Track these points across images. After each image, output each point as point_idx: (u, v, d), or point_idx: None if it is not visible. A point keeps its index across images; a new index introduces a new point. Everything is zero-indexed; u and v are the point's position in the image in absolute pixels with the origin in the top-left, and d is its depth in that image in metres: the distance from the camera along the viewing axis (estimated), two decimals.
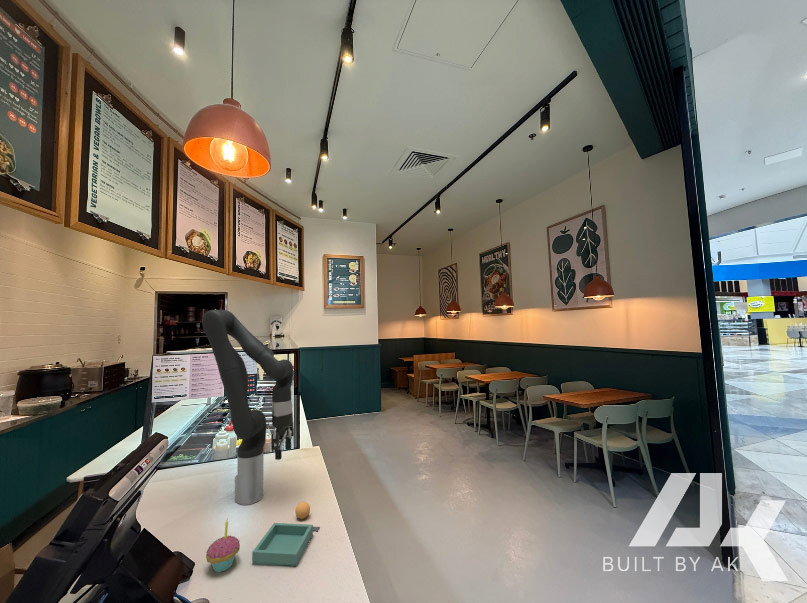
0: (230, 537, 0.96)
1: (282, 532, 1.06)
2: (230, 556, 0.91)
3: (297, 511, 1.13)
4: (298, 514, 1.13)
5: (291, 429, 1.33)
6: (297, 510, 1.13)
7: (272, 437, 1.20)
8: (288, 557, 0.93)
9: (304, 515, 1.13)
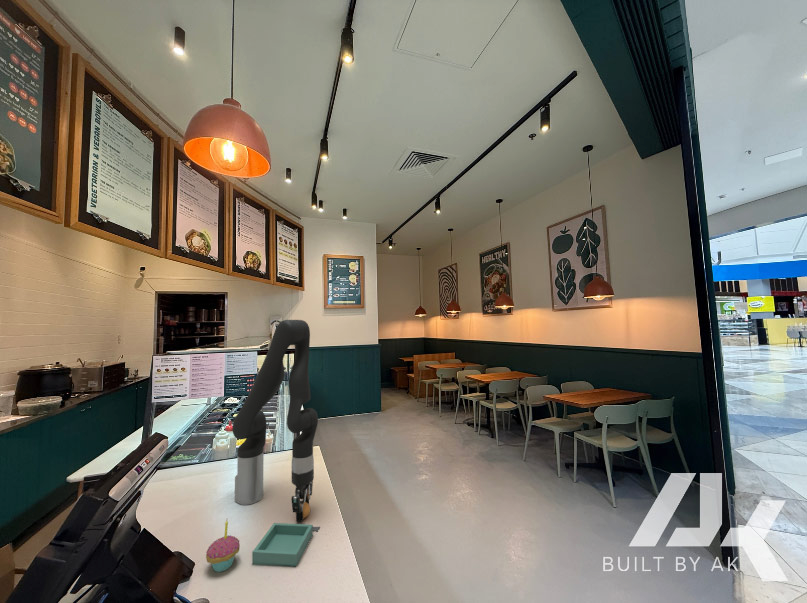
0: (230, 537, 0.96)
1: (282, 532, 1.06)
2: (230, 556, 0.91)
3: None
4: None
5: (310, 486, 1.21)
6: None
7: (292, 501, 1.09)
8: (288, 557, 0.93)
9: (304, 515, 1.13)
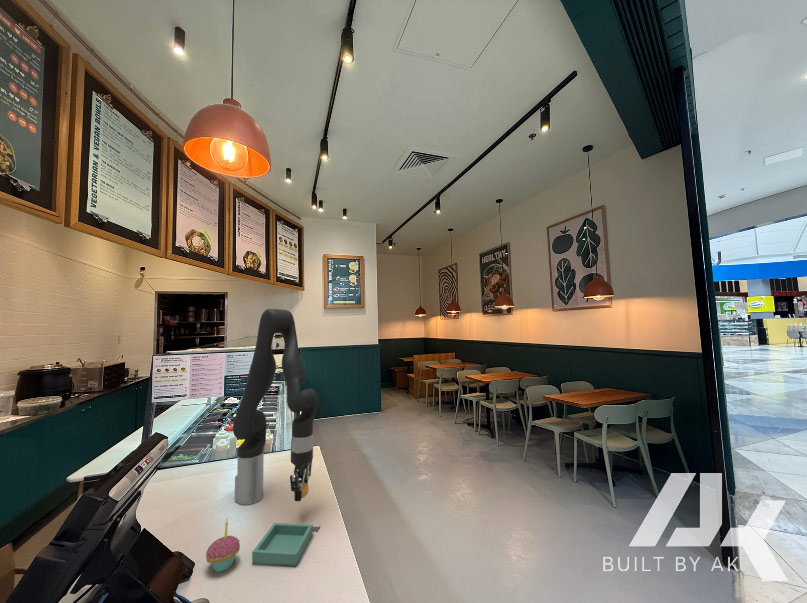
0: (230, 537, 0.96)
1: (282, 532, 1.06)
2: (230, 556, 0.91)
3: None
4: None
5: (309, 467, 1.20)
6: None
7: (291, 480, 1.09)
8: (288, 557, 0.93)
9: (302, 495, 1.13)
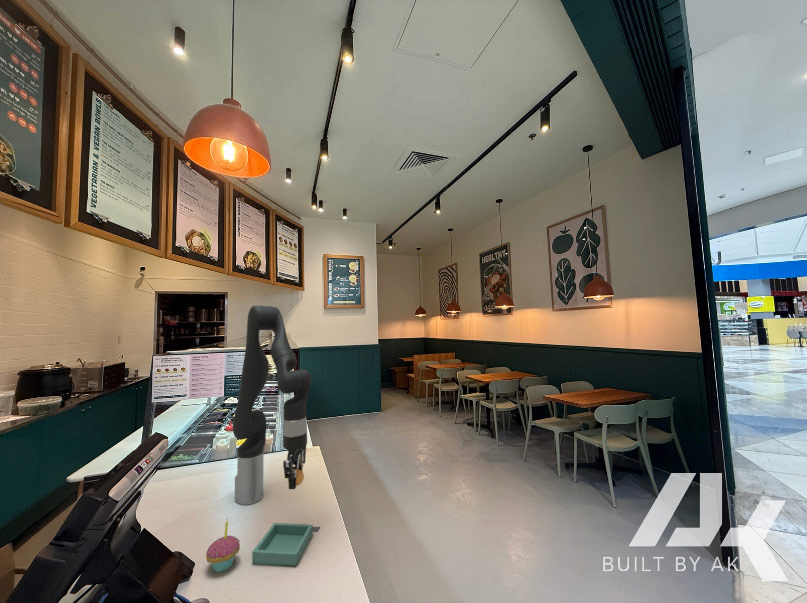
0: (230, 537, 0.96)
1: (282, 532, 1.06)
2: (230, 556, 0.91)
3: None
4: None
5: (303, 454, 1.13)
6: None
7: (284, 466, 1.01)
8: (288, 557, 0.93)
9: (297, 482, 1.05)
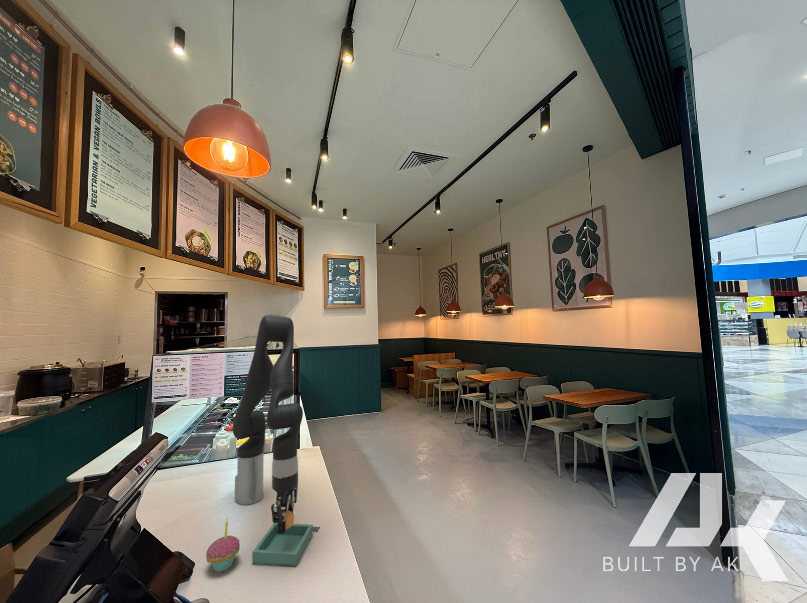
0: (230, 537, 0.96)
1: None
2: (230, 556, 0.91)
3: None
4: None
5: (294, 493, 1.05)
6: None
7: (272, 510, 0.94)
8: (288, 557, 0.93)
9: (287, 526, 0.98)
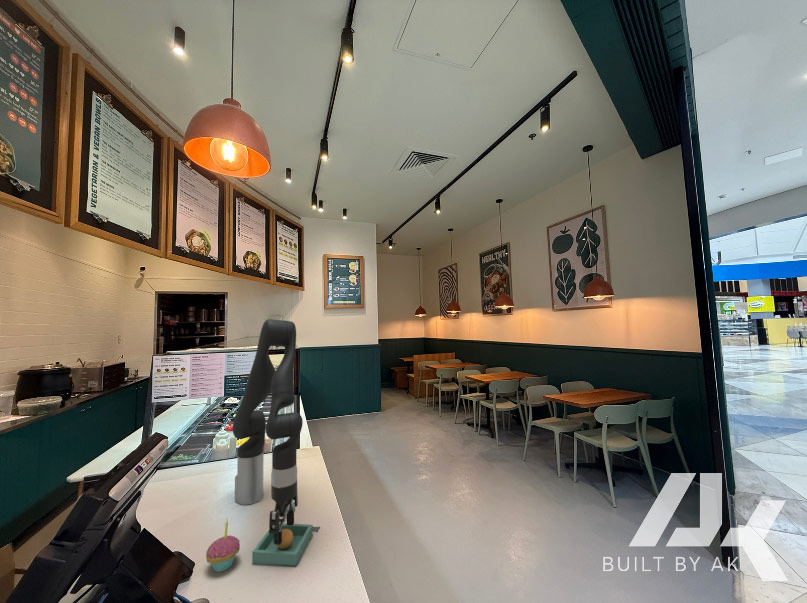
0: (230, 537, 0.96)
1: None
2: (230, 556, 0.91)
3: None
4: None
5: (294, 498, 1.06)
6: None
7: (271, 517, 0.93)
8: (288, 557, 0.93)
9: (286, 545, 0.98)
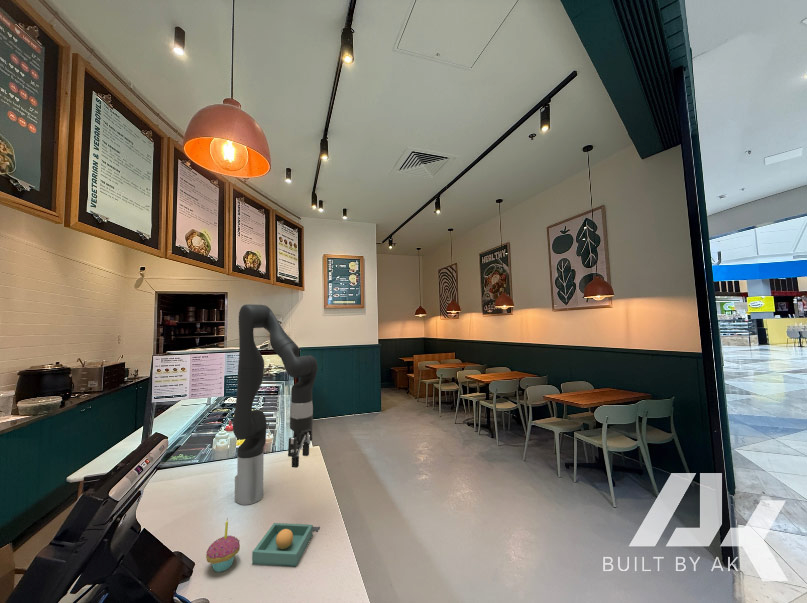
0: (230, 537, 0.96)
1: None
2: (230, 556, 0.91)
3: (278, 541, 0.98)
4: (279, 544, 0.97)
5: (310, 433, 1.19)
6: (278, 539, 0.98)
7: (289, 442, 1.07)
8: (288, 557, 0.93)
9: (286, 545, 0.98)
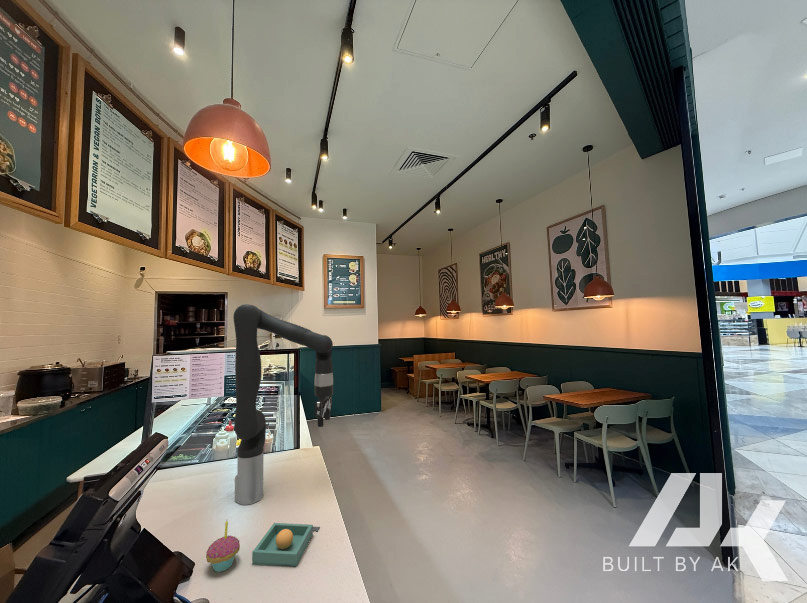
0: (230, 537, 0.96)
1: None
2: (230, 556, 0.91)
3: (278, 541, 0.98)
4: (279, 544, 0.97)
5: (330, 401, 1.42)
6: (278, 540, 0.98)
7: (316, 405, 1.29)
8: (288, 557, 0.93)
9: (286, 545, 0.98)
